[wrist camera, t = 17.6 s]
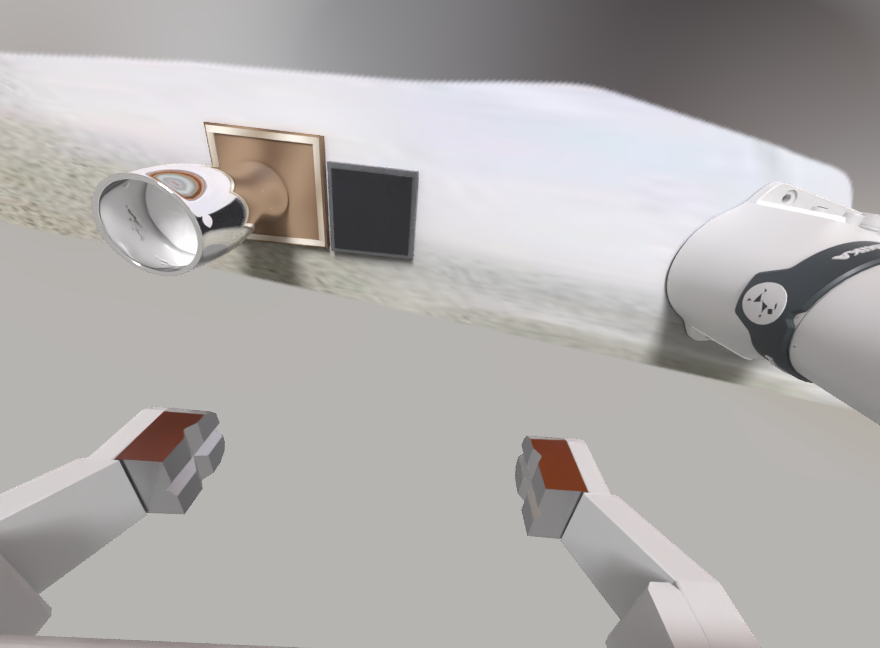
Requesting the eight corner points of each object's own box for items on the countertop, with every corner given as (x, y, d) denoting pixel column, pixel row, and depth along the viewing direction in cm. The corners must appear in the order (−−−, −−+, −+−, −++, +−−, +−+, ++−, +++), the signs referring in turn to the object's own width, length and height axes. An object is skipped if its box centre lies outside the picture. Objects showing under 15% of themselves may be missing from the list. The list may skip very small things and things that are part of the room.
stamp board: (323, 135, 33) (320, 135, 32) (329, 246, 38) (327, 248, 37) (208, 122, 32) (202, 121, 31) (230, 236, 37) (225, 238, 36)
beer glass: (253, 237, 37) (151, 294, 24) (208, 174, 34) (60, 199, 20) (306, 210, 35) (228, 255, 22) (264, 142, 32) (144, 147, 19)
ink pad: (418, 171, 34) (417, 172, 33) (412, 256, 38) (411, 260, 37) (330, 161, 34) (325, 161, 32) (334, 248, 38) (330, 252, 37)
